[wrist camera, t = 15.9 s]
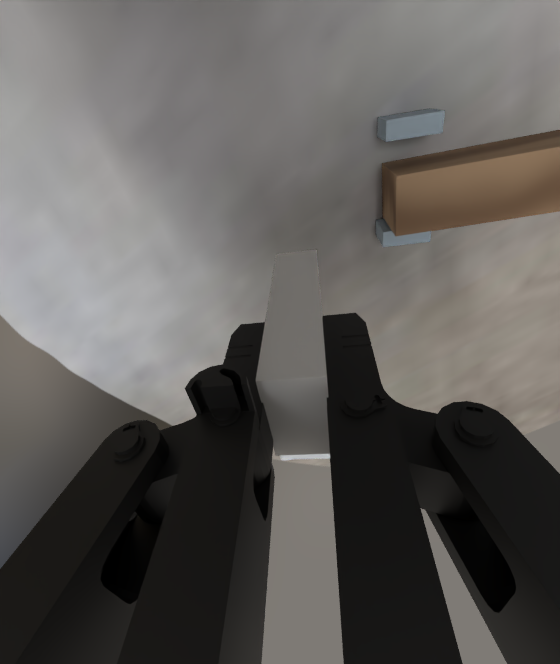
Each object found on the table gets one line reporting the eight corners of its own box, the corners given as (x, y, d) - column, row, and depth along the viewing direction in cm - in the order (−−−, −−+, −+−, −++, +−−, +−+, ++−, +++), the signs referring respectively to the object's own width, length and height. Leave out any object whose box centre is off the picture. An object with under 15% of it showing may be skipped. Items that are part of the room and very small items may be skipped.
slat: (381, 162, 25) (396, 176, 21) (723, 98, 22) (818, 99, 18) (381, 215, 28) (395, 236, 24) (691, 164, 24) (769, 178, 20)
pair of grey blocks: (377, 117, 23) (386, 120, 21) (429, 108, 23) (444, 110, 20) (375, 234, 28) (382, 247, 26) (418, 228, 28) (430, 241, 25)
